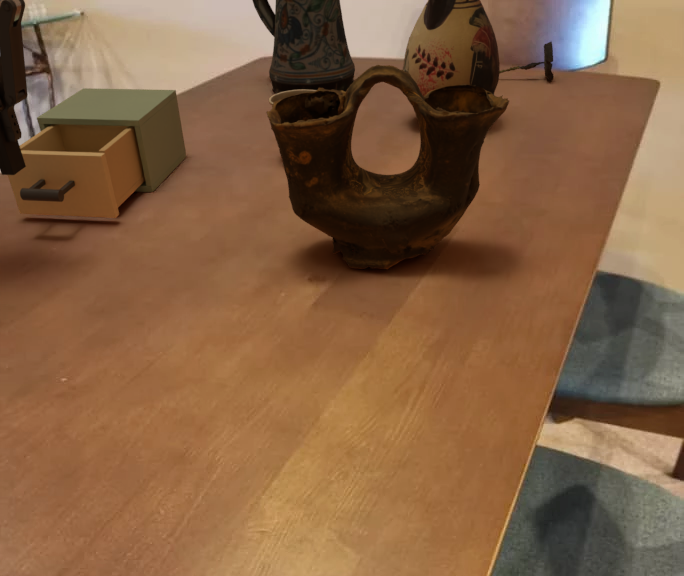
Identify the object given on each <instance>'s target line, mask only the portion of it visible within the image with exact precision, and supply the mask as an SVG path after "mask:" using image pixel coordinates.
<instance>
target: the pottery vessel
mask: <svg viewBox="0 0 684 576" xmlns="http://www.w3.org/2000/svg"><path fill="white" fill-rule="evenodd" d="M380 83H385V84H388V85H389V86H392V87H394V88H397V89H398V90H400V91H401V93H402V95H404V96H405V97H406V98H407V97H408V99H407V101H408V100H409V101H408V102H409V103H410V105H411V106H412V109H413V111H414V114H415V116H416V119H417V123H418V128H419V135H420V136H419V137H420V145H419V153H418V156H417V158H416V161H415V162H414V163H413V165H412V166H411V167H410V168H409V169H407V170H406V171H403V172H400V173H395V174H381V173H375V172H372V171H370V170H367V169H364V168H362V167H361V166H359V165H358V164H357V162H356V161H355V159H354V156H353V152H352V139H353V132H354V127H355V122H356V118H357V114H358V111H359V108H360V106H361V104H362V103H363V101H364V100H365V98H366V97H367V96H368V94H369V93H370V91H371V89H372V88H373V87H374V86H375V85H377V84H380ZM487 93H490V94H487ZM273 104H274V105H273V107H272V106H271V109H270V110H268V111H266V116H267V118H268V120H269V123H270V130H272V132H273V135H274V137H275V141H276V144H277V147H278V150H279V155H280V157H281V161H282V165H283V170H284V173H285V177H286V180H287V186H288V187H287V188H288V198H289V201H290V204H291V209H292V211H293V213H294V214H295V216H297V217H298V218H299V219H300V220H302V221H303V222H305V223H306V224H307V225H310V226H311V227H313V228H315V229H316V230H318V231H320V232H321V233H323V234H325V235H327V236H328V237H330V238H332V245H333V246H332V247H333V248H332V254H333V255H336V254H337V253H340V252H341V254H342V258H341V260H343V261H344V262H345V263H346V265H347V266H348V267H349V268H350V269H360V270H363V269H367V268H370V269H379V270H387V271H388V270H389V269H390V268H391V267H393V266H395V265H397V264H398V263H400V262H402V261H404V260H406V259H413V258H416V257H418V256H420V255H423V256H426V255H427V254H429V253H431V252H432V251H433V250H435V246H437V245H439V243H440V242H441V241H442V240H443V239H445V237H447V236H448V235H449V234H451V232H452V231H453V229H454V228H455V227H456V225H457V224H458V223H459V222H460V220H461V219H462V217H463V216H464V215H465V213H466V211H467V210H468V208H469V207H470V205H471V204H472V202H473V201H474V200H475V198H476V195H477V194H478V191H479V189H480V185H481V184H480V174H479V172H480V171H479V167H480V158H481V157H480V156H481V152H482V147H483V145H484V143H485V139H486V137H487V134H488V132H489V131H490V129H491V128H492V127H493V126H494V124H495V123H496V122H497V120H498V119H499V118H500V117H501V116H502V115H504V113H505V112H506V110H507V109H508V105H509V104H510V100H509V98H508V97H506V98H505V97H504V98H503V95H500V96H496V95H495V94H494V95H493V94H492V93H491V92H488V91H486V90H485V89H483V88H481V87H475V86H471V85H468V84H463V85H456V86H447V87H443V88H438V89H434V90H431V91H429V92H428V93H427V94H426V95H425V96H423V95H422V93H421V91H420V89H419V87H418V85H417V83H416V82H415V81H414V79H413V78H412V77H411V75H410V74H409V73H407V72H405V71H403V69H400V68H399V67H396V66H394V65H390V64H386V65H383V64H382V65H381V64H376V65H373V66H371V67H369V68H367V69H366V70H365V71H364V72H362V73H361V74H360V75H359V76H357V78H356V79H355V80H354V82H353V83H352V84H351V85H350V87H349V88H348V89H347V91H346V92H344V91H343V90H342V91H337V90H334V89H332V90H326V89H324V88H318V90H317V91H314V92H304V93H299V94H296V95H294V96H289V97H286V98H283V99H280V100H278V101H275V102H274V103H273Z"/></svg>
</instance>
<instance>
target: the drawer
mask: <svg viewBox="0 0 684 576" xmlns="http://www.w3.org/2000/svg"><path fill="white" fill-rule="evenodd" d="M19 146H20V149H21V153H22V156H23V159H24V162H25V165H26V167H25V168H23V169H22V170H20V171H19V172H18V173H16V174H15V175H7V178H8V181H9V184H10V187H11V190H12V192H13V196H14V200H15V202H16V206H17V208H18V211H19V214H20V215H39V216H43V215H44V216H60V217H61V216H63V217H85V218H86V217H87V218H106V219H107V218H108V219H116V218H118V216H119V215H120V212H119V211H120V210H119V207H121V205H122V204H124V203H125V201H127V199H128V198H130V196H131V195H132V194H133V193H134V192H136V191H135V190H136V189H137V188H138V187H139V186H140V185H141V184H142V183H143V182H144V181H145V176H144V171H143V166H142V161H141V156H140V152H139V147H138V142H137V137H136V132H135V127H134V126H104V125H65V124H51V125H50V126H48V127H47V128H45V129H44V130H42V131H39V132H38V133H36V134H34V136H32V137H30V138H29V139H27V140H26V141H24V142H23V143H21V144H19Z"/></svg>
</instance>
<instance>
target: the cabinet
mask: <svg viewBox="0 0 684 576" xmlns="http://www.w3.org/2000/svg"><path fill="white" fill-rule="evenodd" d="M36 120H37V123H38V127H39V130H40V131H39V132H41V131H42V130H44V129H45V128H47V127H48V126H50V125H51V124H65V125H104V126H134V127H135V132H136V137H137V142H138V147H139V152H140V156H141V161H142V166H143V171H144V176H145V181H144V182H143V183H142V184H141V185H140V186H139V187H138V188H137V189H136V190H135V191H134V192H142V193H153V192H154V191H155V190H157V188H159V186H160V185H161V184H162V183H163V182H164V181H165V180H166V179H167V178H168V177H169V176H170V175H171V174H172V173H173V172H174V170H175V169H176V168H177V167H178V166H179V165H181V163H182V162H183V161H184V160H185V159H186V158H187V152H186V146H185V137H184V133H183V132H184V131H183V126H182V121H181V114H180V109H179V102H178V97H177V91H176V89H142V88H141V89H140V88H91V87H90V88H88V87H86V88H85V87H83V88H82V89H80V90H78V91H77V92H75V93H74V94H71V96H69V97H67V98H65V99H64V100H63V101H60V103H58V104H56V105H55V106H53V107H51V108H50V109H48V110H47V111H45V112H44V113H42V114H41V115H39V116H37V117H36Z"/></svg>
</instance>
